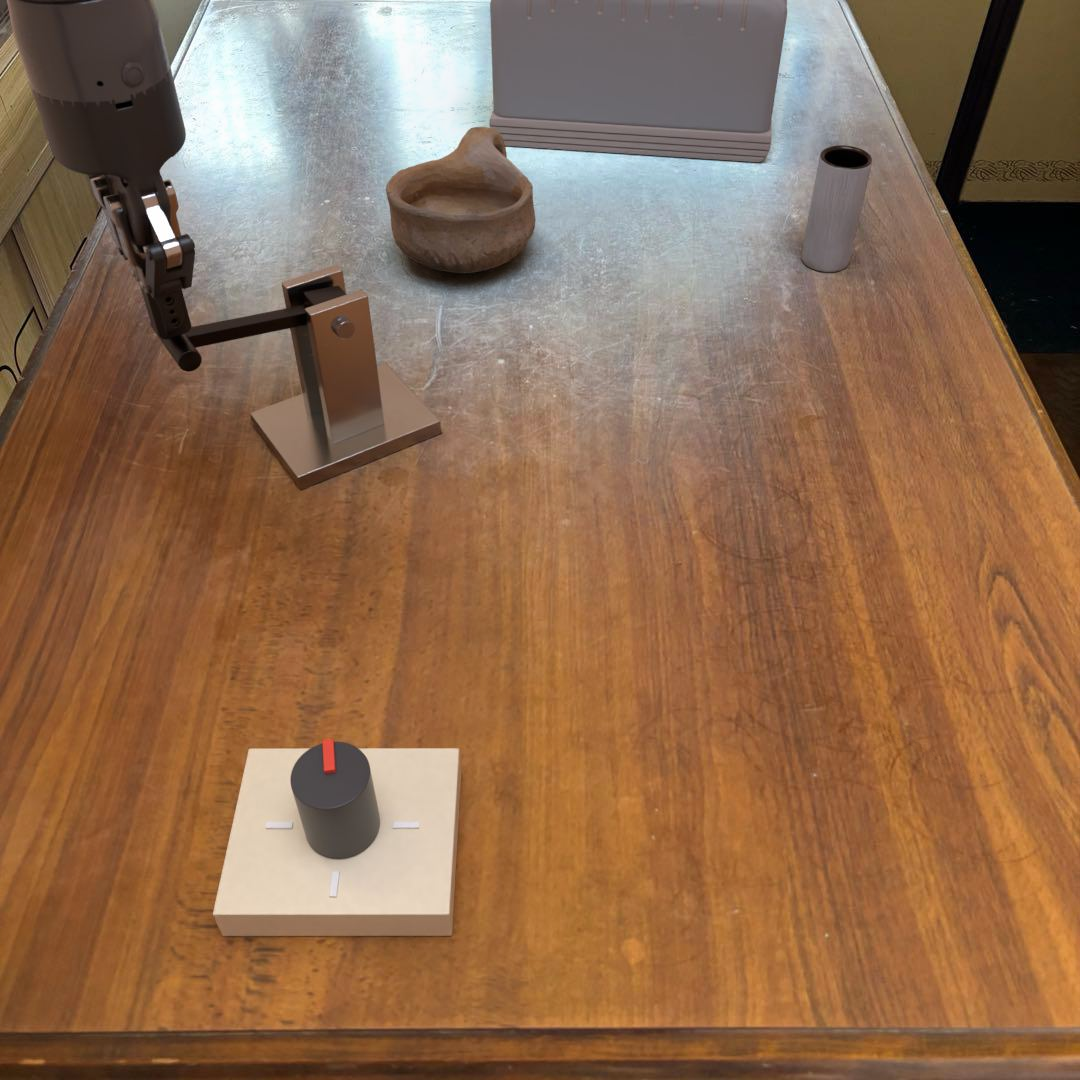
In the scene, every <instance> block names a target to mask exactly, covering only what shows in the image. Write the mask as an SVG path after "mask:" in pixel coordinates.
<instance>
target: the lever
mask: <svg viewBox="0 0 1080 1080" xmlns="http://www.w3.org/2000/svg"><path fill="white" fill-rule="evenodd" d="M347 294H348V293H347V292H346V293H345V292H344V290H343V289H342V288H341V287H340V286H333V287H328V288H322V289H317V290H312V291H307V292H303V305H301V306H296V307H291V308H286V307H285V308H280V309H276V310H271V311H265V312H260V313H256V314H251V315H245V316H241V317H235V318H231V319H230V318H229V319H226V320H220V321H215V322H209V323H204V324H200V325H195V326H191V329H190V331H189V332H187V333H185V334H182V335H179V336H175V337H172V338H169V339H162V338H160V337H159V335H158V334H157V332H156V331H155V330H154V328H153V327H152V325H151V322H150V327H151V329H152V330H153V331H154V333H155V334H156V336H157V337H158V339H159V340H160V342H161V343H162V345H163V346H164V347H165V349H166V350H167V351H168V353H169V354H170V355H171V357H172V359H173V360H174V362H175V364H177V366H178V367H179V369H180V370H181V371H183V372H187V373H189V372H194V371H196V370H198V368H200V367H201V364H202V361H203V358H202V355H201V353H200V352H199V351H198V349H197V348H200V347H206V346H211V345H216V344H221V343H226V342H230V341H236V340H241V339H245V338H251V337H254V336H260V335H265V334H269V333H274V332H279V331H283V330H288V329H289V330H290V328H294V327H299V326H304V325H307V326H308V324H307V319H306V313H305V308H308V307H311V306H314V305H317V304H320V303H323V302H326V301H329V300H332V299H335V298H338V297H341V296H344V295H347Z"/></svg>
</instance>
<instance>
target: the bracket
mask: <svg viewBox="0 0 1080 1080" xmlns="http://www.w3.org/2000/svg"><path fill="white" fill-rule="evenodd" d="M280 284H281V289H282V293H283V299H284V305H285V309H286V308H291V307H296V306H301V305H303V292H307V291H312V290H317V289H322V288H328V287H333V286H340V287H341V288H342V289H343V290H344V292H345V293H346V294H347V295H344V296H341V297H338V298H335V299H332V300H329V301H326V302H323V303H320V304H317V305H314V306H311V307H308V308H305V313H306V319H307V324H308V326H307V325H304V326H299V327H294V328H289V330H290V336H291V342H292V346H293V350H294V356H295V361H296V368H297V372H298V377H299V382H300V388H301V394H298V395H295V396H292V397H290V398H287V399H284V400H282V401H281V400H280V401H279V402H276V403H273V404H270V405H268V406H265V407H263V408H259V409H256V410H253V411H252V412H249V413H250V419H251V423H252V426H253V428H254V429H255V431H256V432H257V434H259V436H260V437H261V439H262V440H263V441H264V443H265V444H266V445H267V447H268V448H269V450H270V451H271V452H272V453H273V455H274V456H275V458H276V460H278V462H279V463H280V464H281V466H282V467H283V469H284V471H286V473H287V474H288V475H289V476H290V478H291V479H292V481H293V482H294V483H295V486H297V488H298V489H299V491H302V490H305V489H306V488H309V487H311V486H314V485H317V484H319V483H321V482H324V481H327V480H329V479H331V478H334V477H337V476H339V475H341V474H344V473H346V472H349V471H351V470H354V469H356V468H359V467H361V466H363V465H366V464H369V463H371V462H374V461H376V460H379V459H381V458H384V457H387V456H389V455H391V454H393V453H396V452H398V451H402V450H403V449H406V448H409V447H411V446H413V445H416V444H418V443H422V442H424V441H427V440H429V439H430V438H433V437H436V436H438V435H441V434H442V427H441V426H442V425H441V420H440V419H439V418H438V417H437V416H436V414H435V413H434V412H433V411H432V410H431V408H429V407H428V406H427V405H426V403H424V401H422V399H421V398H420V397H419V396H418V395H417V394H416V393H415V392H414V390H412V388H410V386H409V385H408V384H407V383H406V382H405V381H404V380H403V379H402V377H400V376H399V375H398V373H397V372H396V371H395V370H394V369H393V368H392V367H391V366H390V365H389V364H388V363H387V362H385V363H383V364H379V365H378V364H377V362H378V361H377V355H376V349H375V340H374V332H373V324H372V317H371V316H372V315H371V309H370V302H369V295H368V294H367V293H366V292H365V291H364V290H363V289H359V290H356V291H352V292H350V293H347V291H346V283H345V277H344V270H343V268H341V267H340V266H339V265H338V264H333V265H330V266H327V267H324V268H321V269H320V268H319V269H318V270H314V271H312V272H311V271H310V272H308V273H305V274H302V275H299V276H296V277H293V278H288V279H286V280H283V281H281V282H280Z"/></svg>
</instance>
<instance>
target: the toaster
mask: <svg viewBox="0 0 1080 1080" xmlns="http://www.w3.org/2000/svg"><path fill="white" fill-rule="evenodd" d="M489 12H490V15H489V16H490V41H491V42H490V43H491V74H492V107H493V108H492V109H493V110H492V113H491V115H490V117H489V128H493V129H495V130H497V131H498V132H499V133H500V134H501V136H502V137H503V140H504V143H505V147H519V148H521V147H522V148H536V149H538V148H539V149H548V150H549V149H552V150H565V151H582V152H598V153H611V154H627V155H643V156H654V157H655V156H658V157H671V158H672V157H673V158H687V159H702V160H716V161H717V160H719V161H732V162H733V161H734V162H751V163H762V162H763V161H764V160H765V159H766V158H767V156H768V154H769V152H770V150H771V146H772V135H773V133H772V132H773V131H772V117H773V110H774V104H775V98H776V90H777V85H778V79H779V71H780V64H781V57H782V51H783V46H784V38H785V32H786V24H787V18H788V0H490V2H489Z"/></svg>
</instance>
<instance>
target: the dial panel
mask: <svg viewBox="0 0 1080 1080" xmlns="http://www.w3.org/2000/svg"><path fill="white" fill-rule="evenodd" d="M311 748H312V747H309V748H307V747H305V748H304V747H303V748H299V747H298V748H295V747H294V748H293V747H292V748H291V747H290V748H287V747H285V748H279V747H278V748H277V747H275V748H270V747H269V748H248V750H247V755H246V760H245V766H244V770H243V774H242V778H241V783H240V787H239V792H238V796H237V800H236V805H235V809H234V815H233V819H232V824H231V829H230V833H229V837H228V842H227V846H226V852H225V856H224V861H223V864H222V865H223V866H222V870H221V874H220V878H219V882H218V883H219V884H218V889H217V893H216V897H215V901H214V905H213V906H214V907H213V911H212V916H213V918H214V920H215V923H216V925H217V927H218V930H219V931H220V934H221V936H222V937H451V936H453V926H454V911H455V910H454V909H455V891H456V890H455V889H456V873H457V856H458V841H459V840H458V839H459V821H460V806H461V805H460V804H461V803H460V802H461V788H462V787H461V785H462V765H461V753H460V748H458V747H436V748H435V747H432V748H431V747H426V748H425V747H421V748H420V747H417V748H416V747H413V748H412V747H411V748H409V747H407V748H406V747H402V748H401V747H399V748H398V747H397V748H396V747H393V748H390V747H389V748H388V747H386V748H385V747H383V748H381V747H380V748H378V747H377V748H375V747H374V748H373V747H371V748H370V747H368V748H367V747H365V748H364V747H363V748H362V747H361V748H359V747H357V748H358V749H360V750H361V751H362V752H363V753H364V755H365V756H366V757H367V759H368V762H369V765H370V770H371V775H372V780H373V785H374V790H375V795H376V800H377V805H378V810H379V816H380V828H379V832H378V834H377V836H376V838H375V840H374V841H373V842H372V844H371V845H370V846H369V847H368V848H367V849H365V850H364V851H363V852H361V853H360V854H358V855H356V856H353V857H350V858H346V859H331V858H327V857H324V856H322V855H320V854H318V853H317V852H315V851H314V850H313V849H312V848H311V846H310V845H309V843H308V841H307V839H306V835H305V832H304V829H303V825H302V822H301V818H300V815H299V812H298V808H297V805H296V801H295V798H294V795H293V791H292V788H291V782H290V779H291V772H292V769H293V767H294V765H295V763H296V762H297V760H298V759H299V758H300V757H301V755H303V754H304V753H305V752H306V751H307V750H309V749H311Z"/></svg>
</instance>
